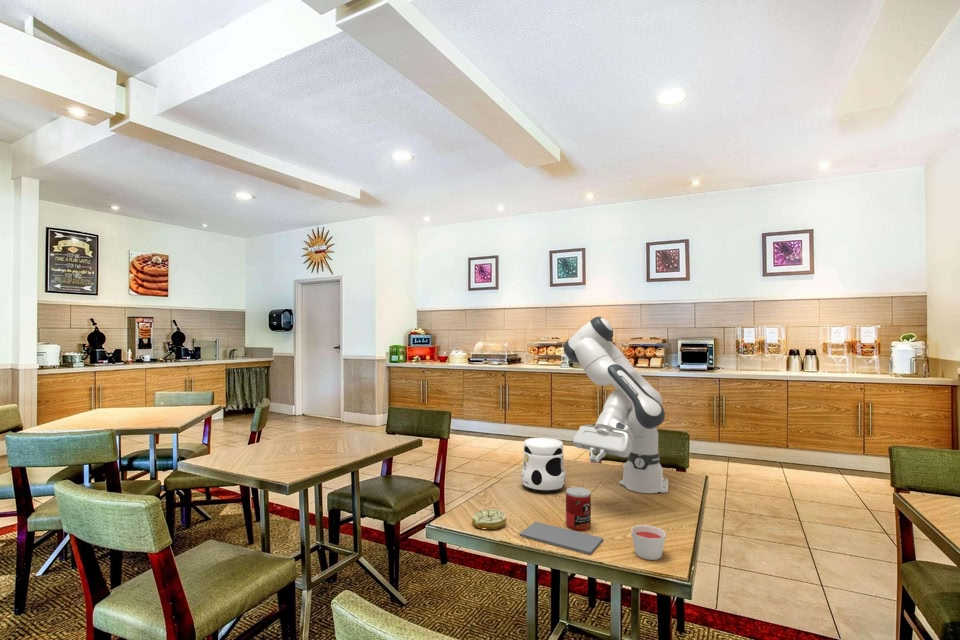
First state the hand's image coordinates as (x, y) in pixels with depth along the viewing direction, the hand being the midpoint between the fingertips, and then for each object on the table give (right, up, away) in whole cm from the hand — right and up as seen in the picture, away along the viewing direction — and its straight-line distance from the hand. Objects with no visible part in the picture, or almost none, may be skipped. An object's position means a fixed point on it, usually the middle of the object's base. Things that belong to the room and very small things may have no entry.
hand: (593, 461), depth 161 cm
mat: (-14, -17, -19) cm, 29 cm away
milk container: (-13, -19, +27) cm, 36 cm away
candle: (+8, -17, -29) cm, 35 cm away
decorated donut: (-35, -18, -9) cm, 41 cm away
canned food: (-7, -18, -10) cm, 22 cm away
